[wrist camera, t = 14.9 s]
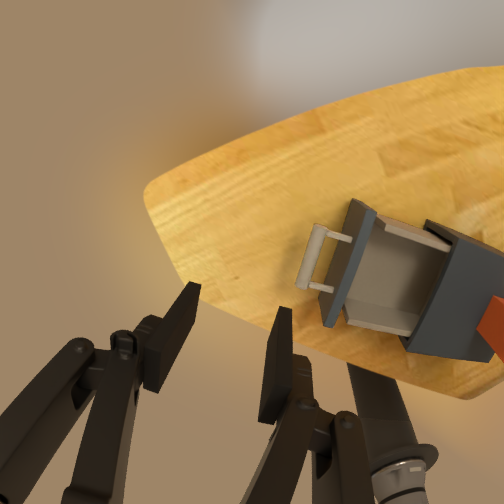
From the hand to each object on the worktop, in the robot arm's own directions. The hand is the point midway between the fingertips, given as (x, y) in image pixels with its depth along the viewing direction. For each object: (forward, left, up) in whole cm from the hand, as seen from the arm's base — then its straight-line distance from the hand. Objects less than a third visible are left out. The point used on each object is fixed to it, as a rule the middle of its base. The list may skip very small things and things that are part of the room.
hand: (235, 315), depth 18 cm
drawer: (0, -15, -20) cm, 25 cm away
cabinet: (0, -29, -21) cm, 36 cm away
